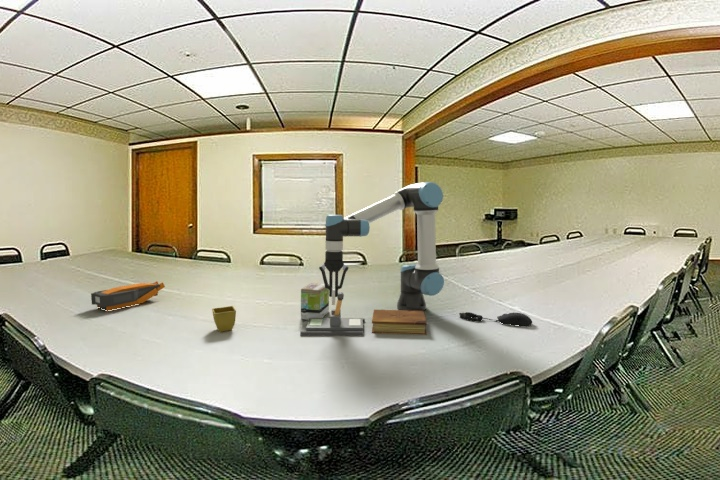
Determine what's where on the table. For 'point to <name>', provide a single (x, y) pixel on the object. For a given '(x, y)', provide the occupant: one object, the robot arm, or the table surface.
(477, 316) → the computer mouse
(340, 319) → the breaker panel
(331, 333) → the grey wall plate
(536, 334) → the table surface
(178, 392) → the table surface
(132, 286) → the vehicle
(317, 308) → the tea box
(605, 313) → the table surface
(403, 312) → the diary
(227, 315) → the flower pot
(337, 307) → the lever
